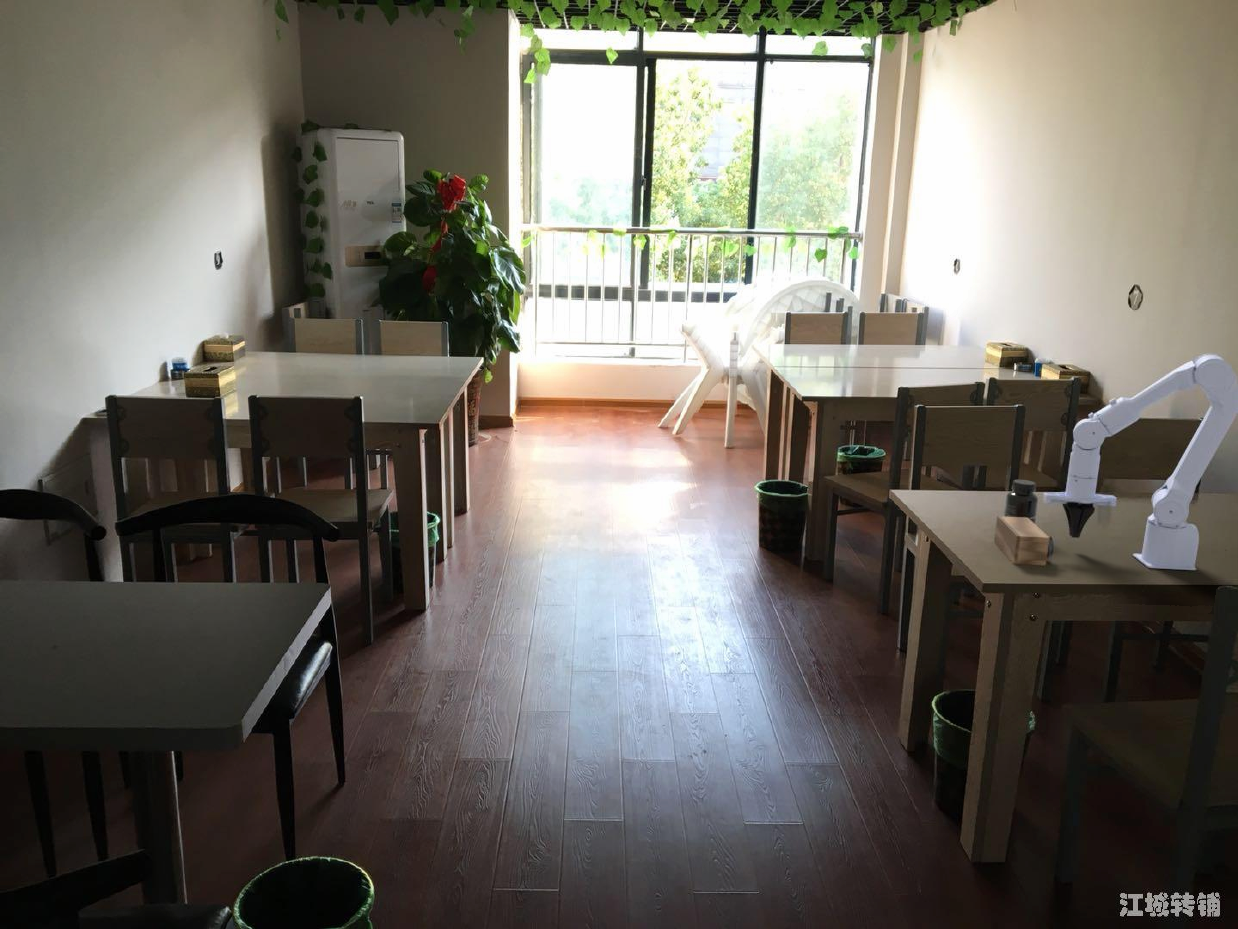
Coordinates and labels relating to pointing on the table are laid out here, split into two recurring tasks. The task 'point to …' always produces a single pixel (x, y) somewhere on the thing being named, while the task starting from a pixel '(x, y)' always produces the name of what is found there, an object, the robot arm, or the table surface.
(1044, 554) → the catch block
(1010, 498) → the supplement bottle
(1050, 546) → the knob near
